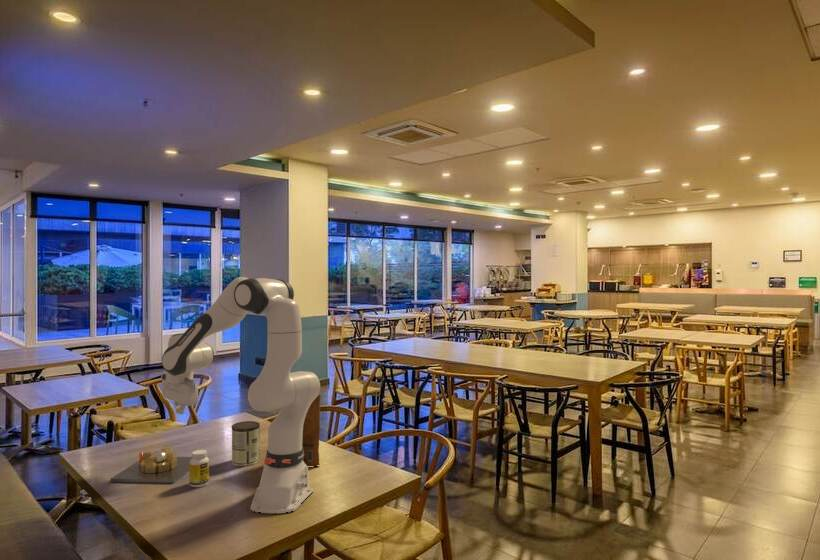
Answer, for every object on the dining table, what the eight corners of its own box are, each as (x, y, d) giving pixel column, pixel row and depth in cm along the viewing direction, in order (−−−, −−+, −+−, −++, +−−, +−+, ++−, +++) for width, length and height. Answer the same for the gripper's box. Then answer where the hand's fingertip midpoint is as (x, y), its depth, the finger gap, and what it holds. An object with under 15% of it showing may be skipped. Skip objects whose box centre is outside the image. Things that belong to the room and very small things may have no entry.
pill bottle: (201, 488, 169) (202, 455, 169) (185, 487, 171) (185, 454, 170) (212, 481, 175) (212, 449, 175) (196, 479, 177) (196, 448, 177)
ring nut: (166, 473, 179) (166, 458, 179) (134, 472, 179) (134, 457, 179) (184, 459, 192) (184, 445, 192) (154, 459, 193) (154, 445, 193)
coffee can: (238, 456, 200) (238, 420, 200) (263, 457, 199) (263, 421, 199) (226, 465, 190) (226, 428, 190) (253, 466, 189) (253, 429, 189)
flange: (173, 483, 173) (173, 464, 173) (110, 482, 174) (110, 463, 174) (202, 460, 195) (202, 443, 195) (146, 459, 196) (146, 442, 196)
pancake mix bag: (314, 471, 185) (314, 394, 185) (277, 461, 195) (277, 388, 195) (326, 465, 191) (327, 391, 190) (290, 455, 201) (290, 385, 201)
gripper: (203, 378, 185) (202, 416, 185) (175, 371, 197) (174, 407, 198) (186, 381, 180) (186, 420, 180) (158, 374, 192) (158, 410, 193)
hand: (180, 413), depth 189 cm, fingers closed
